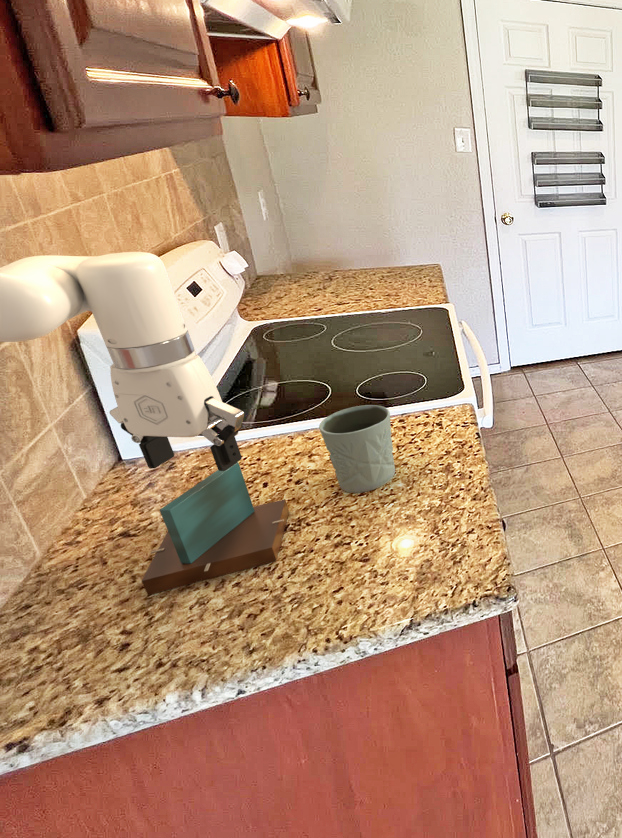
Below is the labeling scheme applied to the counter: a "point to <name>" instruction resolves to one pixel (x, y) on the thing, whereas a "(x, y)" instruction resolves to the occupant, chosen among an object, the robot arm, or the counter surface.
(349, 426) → the drinking glass
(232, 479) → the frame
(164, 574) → the frame stand
